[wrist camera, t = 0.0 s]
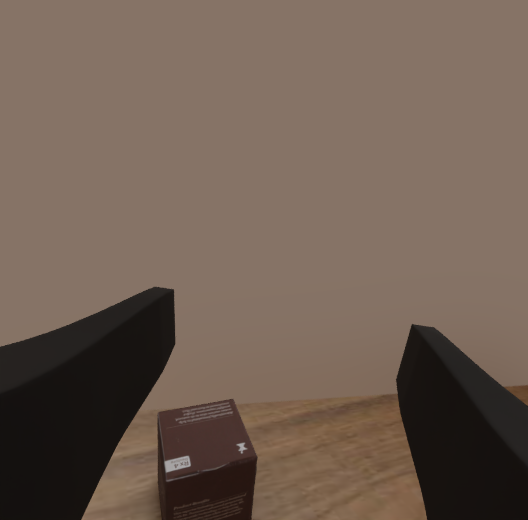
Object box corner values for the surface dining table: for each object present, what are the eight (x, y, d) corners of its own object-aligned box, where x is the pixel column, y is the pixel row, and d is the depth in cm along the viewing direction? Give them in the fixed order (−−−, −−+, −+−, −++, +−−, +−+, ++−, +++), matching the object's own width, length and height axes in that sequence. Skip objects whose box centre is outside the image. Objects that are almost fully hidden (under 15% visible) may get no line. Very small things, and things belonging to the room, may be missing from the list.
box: (229, 466, 32) (235, 396, 29) (251, 535, 27) (260, 457, 24) (156, 483, 30) (156, 410, 27) (164, 562, 24) (164, 479, 22)
